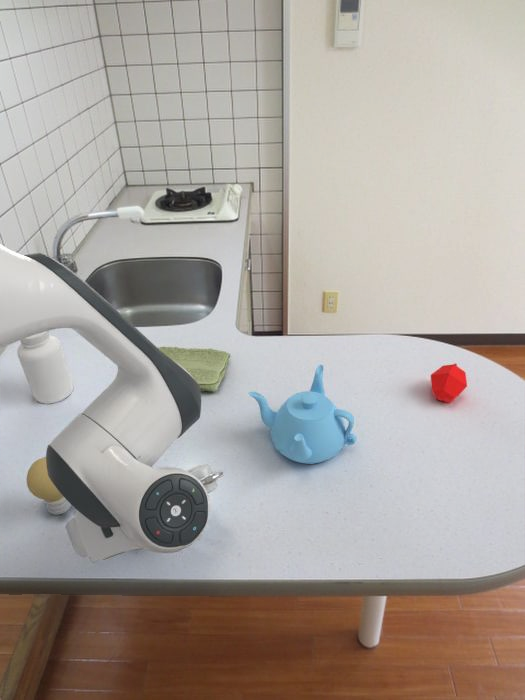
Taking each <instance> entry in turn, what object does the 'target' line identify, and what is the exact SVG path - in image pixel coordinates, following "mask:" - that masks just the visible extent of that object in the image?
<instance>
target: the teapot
mask: <svg viewBox="0 0 525 700" xmlns="http://www.w3.org/2000/svg"><path fill="white" fill-rule="evenodd" d="M323 375H324V365H323V364H319V365H318V366H316V369H315V371H314V377H313V380H312V383H311V387H310V388H309V391H307V390H306V391H300V392H297V393H295V394H292V395H291V396H290V397H288V398H287V399H286V401H284V402H283V404H282V405H281V406H280V407H279V409H278V410H277V411H274V410H273V409H271V407H269V404H268V401H267V399H266V397H265V396H264V395H263V394H261V393H259V392H256V391H249V392H248V395H249V396H250V397H251V398H253V399H254V400H255V401H256V402H257V404H258V407H259V412H260V418H261V421H262V423H263V425H264V426H265V427H267V429H269V430H270V431H271V432H270V436H271V441H272V444H273V446H274V448H275V449H276V450H277V451H278V452H279V453H280V454H281V455H283V457H285V458H287V459H289V460H291V461H294V462H296V463H301V464H309V465H312V464H319V463H323V462H326V461H328V460H330V459H332V458H334V457H335V456H336V455H338V453H340V451H341V450H342V449H343V447H344V445H347V446H353V445H355V443H356V442H357V435H355V434H354V433H352V430H353V427H354V425H355V418H354V416H353V414H352V413H351V412H350V411H347V410H346V409H341V408H339V409H338V407H337V406H336V405H335V404H334V403H333V402H332V400H331V399H329V397H327V396H326V392H325V388H324V382H323ZM344 419H345V420H347V421H348V425H347V427H346V424H345V421H344Z"/></svg>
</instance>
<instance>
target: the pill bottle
mask: <svg viewBox="0 0 525 700" xmlns="http://www.w3.org/2000/svg"><path fill="white" fill-rule="evenodd" d="M19 342H20V344H19V346H18V347H17V352H16V353H17V357H18V360H19V363H20V365H21V367H22V370H23V373H24V376H25V378H26V380H27V381H26V382H27V383H28V386H29V388H30V391H31V394H32V396H33V397H34V399H35V401H37V402H38V403H40V404H45V405H46V404H47V405H48V404H55V403H58V402H60V401H64V400H65V399H66V398H68V397H69V396H70V395H71V394H72V393H73V390H74V388H75V387H74V386H75V385H74V381H73V378H72V375H71V372H70V369H69V365H68V363H67V360H66V356H65V354H64V351H63V348H62V345H61V342H60V340H59V339H58V338H57V337H56V336H55V335H52V334H50V330H49V331H45V332H42V333H38V334H35V335H32V336H29V337H27V338H24V339H21V340H19Z"/></svg>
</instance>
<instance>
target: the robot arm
mask: <svg viewBox="0 0 525 700" xmlns="http://www.w3.org/2000/svg"><path fill="white" fill-rule="evenodd" d="M57 329H58V330H59V329H72V330H73V331H75V332H76V333H77V334H78V335H79V336H81V337H82V338H83V339H84V340H85V341H87V342H88V343H89V344H90V345H91V346H93V347H94V348H95V349H96V350H98V351H99V352H100V353H101V354H102V355H104V356H105V357H106V358H108V360H110V361H111V362H112V363H113V364H114V365H116V366H117V372H116V376H115V378H114V379H113V380H112V382H111V383H110V384H109V385H108V386H107V387H106V388H105V389H104V390H103V391H102V392H101V393H100V394H99V395H98V396H97V397H96V398H95V399H93V401H92V402H91V403H89V405H88V406H87V407H86V408H85V409H84V410H83V411H81V413H78V415H76V417H75V418H74V419H73V420H72V421H70V422H69V423H68V424H67V425H66V426H65V427H64V429H63V430H61V431H60V432H59V433H58V435H57V436H56V437H54V439H53V440H51V442H50V443H49V444H47V447H46V453H45V457H46V465H47V472H48V476H49V478H50V480H51V481H52V482H53V484H54V485H55V487H56V488H57V489H58V490H59V492H60V493H61V494H62V495H63V496H64V497H65V499H66V500H67V501H68V502H69V503H70V504H71V507H73V508H74V509H75V512H74V513H73V518H71V519H70V520H69V521H67V522H66V523H65V529H66V532H67V536H68V538H69V541H70V542H71V545H72V548H73V551H74V552H75V554H76V555H78V556H79V557H82V558H89V560H90V562H91V563H94V564H95V563H99V562H102V561H105V560H107V559H110V558H112V557H115V556H118V555H121V554H123V553H127V552H130V551H133V550H140V549H145V550H147V551H150V552H153V553H157V554H158V553H159V554H174V553H177V552H178V553H179V552H181V551H183V550H185V549H187V548H189V547H190V546H191V545H193V544H194V543H195V542H197V540H199V539H200V537H201V536H202V534H203V533H204V532H205V530H206V527H207V525H208V522H209V519H210V514H211V501H210V497H209V494H210V493H212V492H214V491H215V490H217V489H218V486H219V485H218V482H217V480H218V479H220V478H221V477H224V471H223V470H222V469H218V470H215V471H213V469H212V467H211V465H210V464H208V463H201V464H199V465H197V466H195V467H192V468H190V469H188V470H185V469H182V468H179V467H174V466H159V467H153V466H154V465H155V464H156V463H157V462H158V460H159V459H160V458H161V457H162V456H163V455H164V454H165V453H166V452H167V450H168V449H169V448H170V447H171V446H172V445H173V444H174V443H175V441H176V440H177V439H179V438H181V437H182V436H183V435H184V434H185V433H186V432H187V431H188V430H190V428H191V427H193V425H194V424H196V422H198V420H200V418H201V412H202V391H201V390H200V386H199V385H198V383H197V382H196V381H195V379H194V378H193V377H192V376H191V374H190V373H189V372H188V371H187V370H185V369H184V368H183V367H182V366H180V365H179V364H178V363H176V362H175V361H173V360H172V359H170V358H169V357H168V356H167V355H165V354H164V353H163V352H162V351H161V350H159V349H158V347H157V346H156V345H155V344H154V343H153V342H152V341H150V340H149V339H148V338H147V336H145V335H144V333H142V332H141V331H140V330H139V329H138V328H137V327H136V326H135V325H133V323H131V322H130V321H129V320H128V319H127V318H126V317H125V316H124V315H123V314H122V313H121V312H119V311H118V310H117V308H115V307H114V306H113V305H112V304H111V303H110V302H109V301H108V300H107V299H105V298H104V297H103V296H102V295H101V294H99V292H97V291H96V290H95V289H94V288H93V287H92V286H90V284H89V283H87V282H86V281H85V280H84V279H82V277H80V276H79V275H78V274H76V273H75V272H74V271H73V270H71V269H70V268H69V267H67V266H66V265H64V264H63V263H62V262H60V261H58V260H56V259H54V258H53V257H50V256H49V255H46V254H44V253H40V252H35V253H29V254H21V253H18V252H16V251H13V250H11V249H9V248H8V247H6V246H4V245H2V244H1V243H0V349H1V348H4V347H6V346H8V345H12V344H15V343H17V342H20V340H21V339H24V338H27V337H29V336H32V335H35V334H38V333H42V332H45V331H49V332H50V331H53V330H57Z"/></svg>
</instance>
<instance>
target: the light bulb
mask: <svg viewBox="0 0 525 700" xmlns="http://www.w3.org/2000/svg"><path fill="white" fill-rule="evenodd" d="M26 487H27V488H28V490H29V492H30V493H31V494H32V495H33V496H34V497H36V498H37V499H40V500H42V501H44V504H45V506H46V508H47V511H48V512H49V513H50V514H52V515H55V516H57V515H62V514H64V513H66V512H68V511H69V510H70V509H71V507H72V505H71V504H70V503H69V502H68V501H67V500H66V499H65V497H64V496H63V495H62V494H61V493H60V492H59V490H58V489H57V488H56V487H55V485H54V484H53V482H52V481H51V480H50V478H49V476H48V472H47V465H46V456H43V457H41V458H38V459H37V460H35V461H34V462H33V463H32V464H31V465H30V467H29V468H28V471H27V473H26Z"/></svg>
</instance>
